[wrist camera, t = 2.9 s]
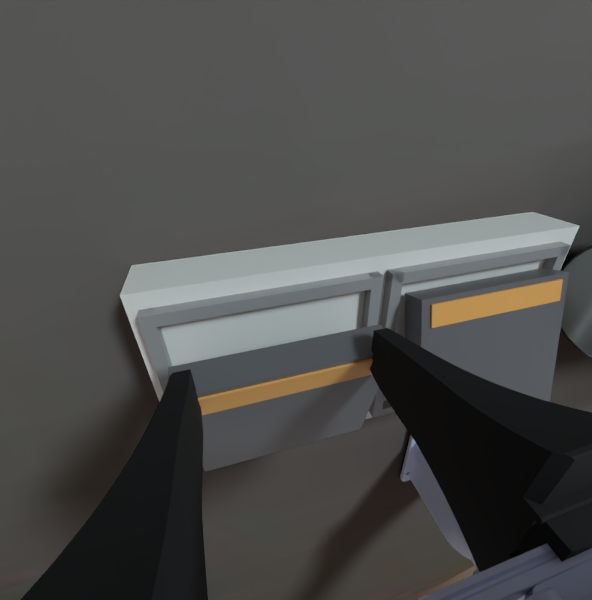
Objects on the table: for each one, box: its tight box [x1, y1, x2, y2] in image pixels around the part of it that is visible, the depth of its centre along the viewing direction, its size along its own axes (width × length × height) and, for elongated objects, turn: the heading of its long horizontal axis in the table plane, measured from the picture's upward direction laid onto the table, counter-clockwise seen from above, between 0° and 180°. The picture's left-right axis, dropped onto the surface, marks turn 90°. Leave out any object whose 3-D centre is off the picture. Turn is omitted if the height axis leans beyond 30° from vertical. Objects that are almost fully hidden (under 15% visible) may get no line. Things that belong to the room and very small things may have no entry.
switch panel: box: [120, 212, 579, 420], centre depth 19 cm, size 12×24×4 cm, turn 92°
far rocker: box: [405, 268, 569, 401], centre depth 18 cm, size 8×9×2 cm
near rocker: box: [168, 324, 383, 472], centre depth 15 cm, size 8×9×2 cm
